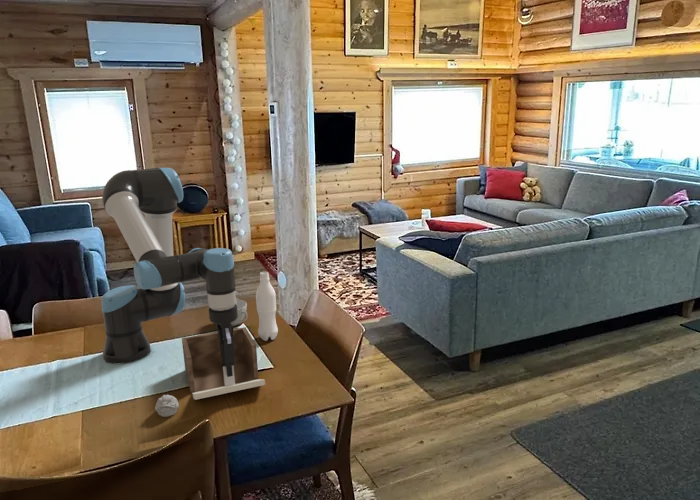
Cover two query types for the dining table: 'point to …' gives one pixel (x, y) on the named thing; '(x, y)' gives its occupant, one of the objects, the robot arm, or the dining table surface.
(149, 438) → the dining table surface
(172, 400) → the white sculpted head
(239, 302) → the teacup
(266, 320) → the water bottle
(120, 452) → the dining table surface
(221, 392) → the panel
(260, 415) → the dining table surface
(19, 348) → the dining table surface
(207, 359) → the crate
